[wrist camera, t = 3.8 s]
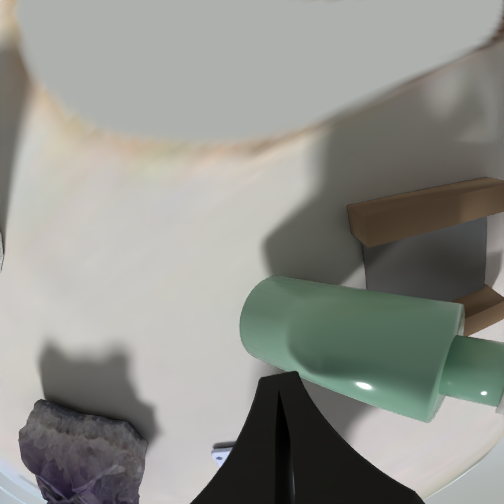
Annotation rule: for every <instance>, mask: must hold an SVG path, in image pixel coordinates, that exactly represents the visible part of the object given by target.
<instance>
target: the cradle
mask: <svg viewBox="0 0 504 504" xmlns="http://www.w3.org/2000/svg"><path fill="white" fill-rule="evenodd" d="M347 209H348V215H349V221H350V228H351V233H352V234H353V235H354V236H355V237H356V238H357V239H358V240H360V241H361V242H362V249H363V258H364V266H365V276H366V286H367V290H371V291H378V292H384V293H391V294H397V295H404V296H411V297H418V298H424V299H431V300H438V301H445V302H453V303H460V304H463V305H464V309H465V322H464V332H463V336H469V335H472V334H474V333H476V332H478V331H480V330H482V329H484V328H486V327H488V326H490V325H492V324H494V323H496V322H498V321H500V320H502V319H504V297H503V296H501V295H500V294H499V293H497V292H496V291H494V290H493V289H492V288H490V287H489V286H487V285H484V279H485V266H486V241H487V216H489V215H493V214H496V213H500V212H503V211H504V181H503V180H498V179H494V178H489V177H484V178H479V179H474V180H468V181H463V182H458V183H453V184H448V185H443V186H438V187H433V188H428V189H423V190H418V191H413V192H408V193H404V194H399V195H394V196H389V197H385V198H380V199H375V200H371V201H366V202H361V203H357V204H352V205H348V206H347Z"/></svg>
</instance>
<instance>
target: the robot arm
mask: <svg viewBox="0 0 504 504" xmlns="http://www.w3.org/2000/svg"><path fill="white" fill-rule="evenodd" d="M211 455H212V457H213V458H214V460H215V461H216V463H217V464H218V466H219V467H220V469H219V470H218V471H217V473H216V474H215V476H214V477H213V478H212V480H211V481H210V482H209V483H208V485H207V486H206V487H205V488H204V489H203V490H202V492H201V493H200V494H199V495H198V496H197V497H196V498H195V499H194V500H193V501H192V502H191V503H190V504H425V503H424V502H423V500H422V499H421V498H420V497H419V496H418V494H417V493H416V492H415V491H413V490H412V489H410V488H408V487H406V486H404V485H402V484H401V483H399V482H397V481H396V480H394V479H392V478H391V477H389V476H388V475H386V474H385V473H383V472H382V471H380V470H379V469H378V468H376V467H375V466H374V465H372V464H371V463H370V462H369V461H367V460H366V459H365V458H364V457H362V456H361V455H360V454H359V453H357V452H356V451H355V450H354V449H353V448H352V447H351V446H350V445H349V444H348V443H347V442H346V441H345V440H344V439H343V438H342V437H341V436H340V435H339V434H338V433H337V432H336V431H335V430H334V429H333V427H332V426H331V425H330V424H329V423H328V421H327V420H326V419H325V418H324V416H323V415H322V414H321V412H320V411H319V410H318V408H317V407H316V405H315V404H314V402H313V401H312V399H311V398H310V396H309V395H308V393H307V391H306V389H305V387H304V385H303V383H302V381H301V379H300V376H299V372H297V371H291V372H286V373H281V374H276V375H272V376H267V377H261V378H260V380H259V382H258V386H257V390H256V394H255V397H254V400H253V403H252V406H251V409H250V411H249V414H248V417H247V419H246V422H245V424H244V426H243V428H242V430H241V432H240V434H239V437H238V439H237V441H236V443H235V444H234V446H233V447H231V448H221V449H214V450H212V452H211Z"/></svg>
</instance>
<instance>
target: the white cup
mask: <svg viewBox="0 0 504 504" xmlns="http://www.w3.org/2000/svg"><path fill="white" fill-rule="evenodd" d="M2 262H3V246H2V236H1V232H0V272H1V267H2Z"/></svg>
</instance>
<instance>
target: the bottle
mask: <svg viewBox="0 0 504 504" xmlns="http://www.w3.org/2000/svg"><path fill="white" fill-rule="evenodd" d="M464 322H465V309H464V305H463V304H460V303H453V302H445V301H438V300H431V299H424V298H418V297H411V296H404V295H397V294H391V293H384V292H378V291H371V290H365V289H358V288H352V287H346V286H339V285H333V284H327V283H321V282H315V281H309V280H302V279H296V278H290V277H284V276H272V277H269V278H266V279H265V280H263V281H261V282H260V283H259V284H258V285H257V286H256V287H255V288H254V289H253V290H252V291H251V293H250V294H249V296H248V298H247V299H246V301H245V304H244V306H243V309H242V312H241V317H240V337H241V341H242V343H243V346H244V347H245V349H246V351H247V352H248V353H249V354H250V355H252V356H253V357H255V358H257V359H259V360H261V361H264V362H266V363H268V364H270V365H273V366H275V367H277V368H279V369H282V370H284V371H286V372H291V371H297V372H299V376H300V378H303V379H305V380H307V381H310V382H312V383H315V384H317V385H320V386H322V387H325V388H327V389H330V390H332V391H335V392H337V393H340V394H343V395H345V396H348V397H351V398H353V399H356V400H359V401H361V402H364V403H367V404H370V405H373V406H376V407H378V408H381V409H384V410H387V411H390V412H393V413H396V414H400V415H403V416H406V417H409V418H412V419H415V420H419V421H422V422H426V423H429V422H431V420H432V419H433V418H434V417H435V415H436V413H437V412H438V410H439V408H440V406H441V404H442V402H443V400H444V398H445V396H449V397H453V398H457V399H462V400H466V401H471V402H475V403H480V404H484V405H489V406H494V407H497V408H496V412H495V413H499V414H504V342H498V341H492V340H485V339H479V338H473V337H467V336H463V332H464Z"/></svg>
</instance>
